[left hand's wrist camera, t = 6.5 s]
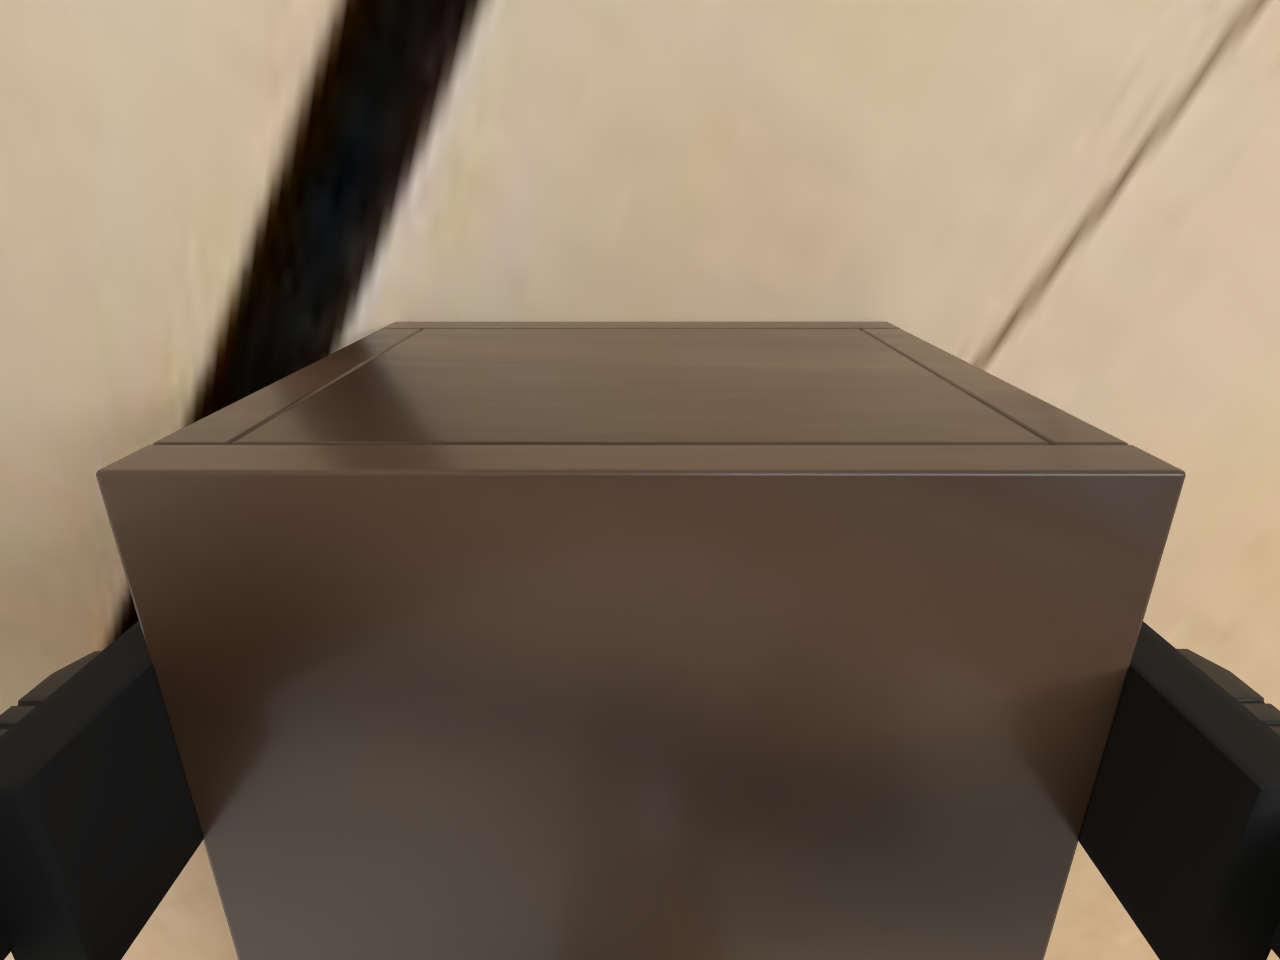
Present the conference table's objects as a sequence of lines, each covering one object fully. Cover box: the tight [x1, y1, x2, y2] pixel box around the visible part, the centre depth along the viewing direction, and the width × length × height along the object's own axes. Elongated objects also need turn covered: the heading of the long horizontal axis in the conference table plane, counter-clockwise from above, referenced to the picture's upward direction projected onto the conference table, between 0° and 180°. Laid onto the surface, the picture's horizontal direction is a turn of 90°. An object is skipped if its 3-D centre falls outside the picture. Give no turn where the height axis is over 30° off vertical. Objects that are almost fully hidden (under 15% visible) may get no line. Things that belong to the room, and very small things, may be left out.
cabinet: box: [96, 322, 1185, 960], centre depth 16 cm, size 22×11×10 cm, turn 0°
